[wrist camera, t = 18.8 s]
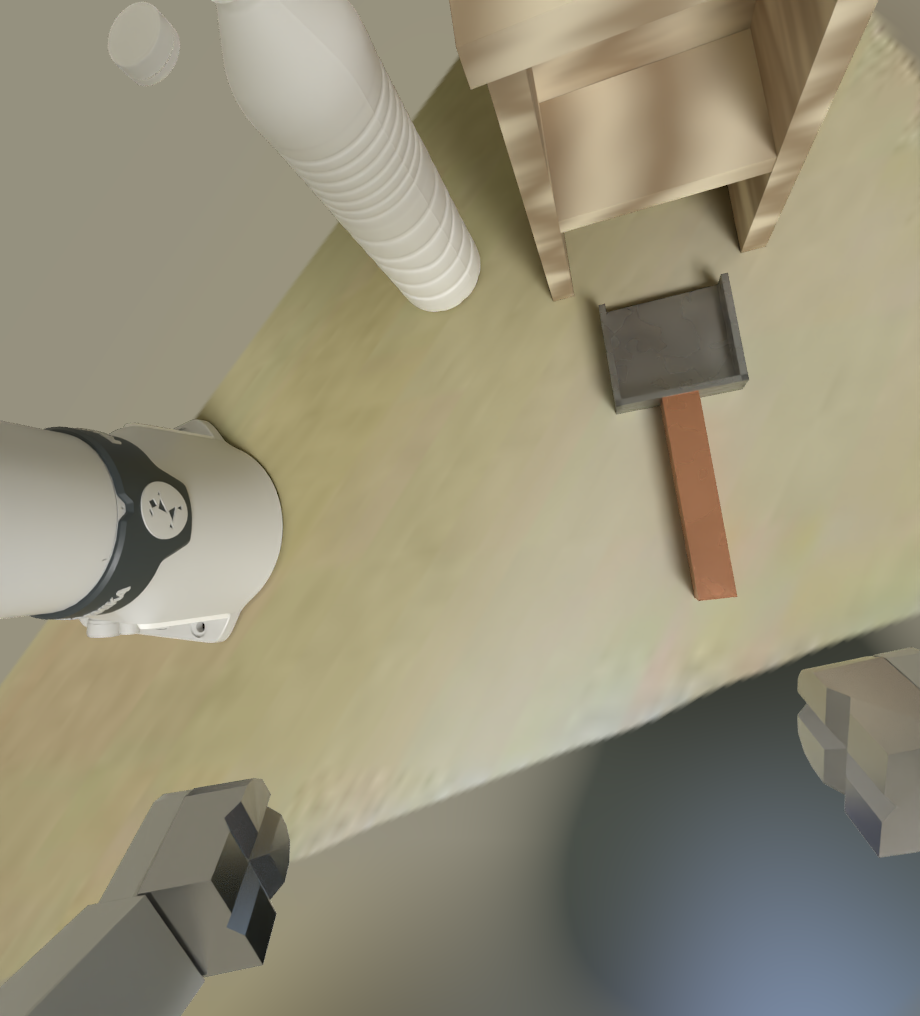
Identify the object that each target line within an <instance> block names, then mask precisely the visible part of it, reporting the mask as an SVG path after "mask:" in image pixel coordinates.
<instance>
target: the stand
mask: <svg viewBox="0 0 920 1016" xmlns="http://www.w3.org/2000/svg"><path fill="white" fill-rule="evenodd" d="M449 2H450V9H451V15H452V22H453V29H454V35H455V43H456V48H457V51H458V54H459V57H460V60H461V63H462V66H463V69H464V72H465V75H466V78H467V80H468V83H469V86H470V89H474V88H477V87H479V86H482V85H485V84H487V85H488V88H489V92H490V95H491V98H492V101H493V105H494V108H495V111H496V115H497V118H498V121H499V124H500V128H501V131H502V134H503V137H504V141H505V144H506V147H507V151H508V154H509V157H510V160H511V164H512V167H513V170H514V174H515V177H516V180H517V183H518V187H519V190H520V193H521V196H522V200H523V203H524V206H525V210H526V213H527V216H528V219H529V223H530V226H531V229H532V233H533V236H534V239H535V242H536V246H537V249H538V252H539V256H540V259H541V262H542V265H543V269H544V272H545V275H546V278H547V282H548V285H549V288H550V292H551V295H552V298H553V301H557V300H561V299H564V298H568V297H572V296H574V291H573V285H572V279H571V273H570V267H569V260H568V254H567V248H566V242H565V236H564V232H566V231H570V230H573V229H576V228H580V227H583V226H587V225H590V224H594V223H597V222H601V221H604V220H607V219H611V218H614V217H618V216H621V215H625V214H628V213H632V212H635V211H638V210H642V209H645V208H649V207H652V206H656V205H659V204H663V203H666V202H669V201H673V200H676V199H680V198H683V197H687V196H690V195H694V194H697V193H700V192H704V191H707V190H711V189H714V188H718V187H721V186H725V185H728V190H729V195H730V200H731V205H732V210H733V215H734V220H735V225H736V230H737V235H738V240H739V245H740V250H741V253H742V252H746V251H750V250H754V249H758V248H762V247H766V245H767V243H768V241H769V238H770V236H771V234H772V232H773V230H774V227H775V225H776V223H777V221H778V219H779V216H780V214H781V212H782V210H783V208H784V206H785V203H786V201H787V199H788V197H789V195H790V192H791V190H792V188H793V186H794V184H795V181H796V179H797V177H798V175H799V173H800V171H801V168H802V166H803V164H804V162H805V160H806V157H807V155H808V153H809V151H810V149H811V146H812V144H813V142H814V140H815V138H816V136H817V133H818V131H819V129H820V127H821V125H822V122H823V120H824V118H825V116H826V114H827V111H828V109H829V107H830V105H831V103H832V100H833V98H834V96H835V94H836V92H837V90H838V87H839V85H840V83H841V81H842V79H843V76H844V74H845V72H846V70H847V68H848V65H849V63H850V61H851V59H852V57H853V55H854V52H855V50H856V48H857V46H858V44H859V41H860V39H861V37H862V35H863V33H864V30H865V28H866V26H867V24H868V22H869V20H870V17H871V15H872V13H873V11H874V9H875V6H876V4H877V2H878V0H449Z"/></svg>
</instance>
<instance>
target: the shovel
mask: <svg viewBox="0 0 920 1016" xmlns="http://www.w3.org/2000/svg"><path fill="white" fill-rule="evenodd" d="M599 312H600V320H601V326H602V332H603V338H604V343H605V349H606V355H607V361H608V367H609V373H610V379H611V385H612V391H613V396H614V402H615V408H616V414H621V413H626V412H631V411H636V410H641V409H646V408H651V407H656V406H661V412H662V418H663V423H664V429H665V434H666V440H667V446H668V451H669V457H670V462H671V468H672V474H673V479H674V485H675V490H676V496H677V501H678V507H679V513H680V518H681V524H682V529H683V535H684V541H685V546H686V552H687V557H688V563H689V569H690V574H691V580H692V585H693V591H694V597H695V598H696V599H697V600H698V601H701V600H711V599H720V598H729V597H737V593H736V587H735V582H734V577H733V571H732V566H731V561H730V555H729V550H728V545H727V539H726V534H725V529H724V523H723V518H722V513H721V507H720V502H719V496H718V491H717V486H716V480H715V475H714V470H713V464H712V459H711V454H710V448H709V443H708V438H707V432H706V427H705V422H704V416H703V411H702V406H701V400H700V398H701V397H706V396H711V395H716V394H721V393H726V392H731V391H736V390H741V389H743V387H744V386H745V384H746V383H747V382H748V380H749V377H748V372H747V367H746V362H745V357H744V352H743V347H742V342H741V337H740V332H739V327H738V322H737V317H736V312H735V306H734V301H733V296H732V291H731V286H730V281H729V276H728V273H725V274H721V276H720V279H719V282H718V285H715V286H711V287H707V288H703V289H699V290H695V291H691V292H687V293H683V294H679V295H675V296H671V297H667V298H663V299H659V300H655V301H651V302H647V303H643V304H638V305H634V306H630V307H626V308H622V309H618V310H614V311H610V312H606V308H605V304H602V305H599Z"/></svg>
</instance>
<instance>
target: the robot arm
mask: <svg viewBox="0 0 920 1016" xmlns="http://www.w3.org/2000/svg"><path fill="white" fill-rule="evenodd" d="M282 530H283V522H282V511H281V506H280V501H279V498H278V495H277V492H276V489H275V487H274V485H273V483H272V481H271V479H270V477H269V476H268V474H267V473H266V471H265V470H264V469H263V468H262V466H261V465H260V464H259V463H258V462H257V461H256V460H254V459H253V458H252V457H251V456H249V455H248V454H246V453H245V452H243V451H241V450H239V449H237V448H235V447H233V446H231V445H230V444H228V443H227V442H225V441H224V439H223V438H222V436H221V435H220V434H219V432H218V431H217V430H216V429H215V427H214V426H213V425H212V424H211V423H209V422H208V421H205V420H199V419H193V420H190V421H188V422H186V423H184V424H182V425H180V426H178V427H176V428H174V429H168V428H163V427H157V426H151V425H145V424H139V423H127V424H125V425H124V427H123V428H120V429H117V430H115V431H113V432H111V433H110V434H106V433H102V432H99V431H94V430H89V429H83V428H68V427H51V428H46V429H40V428H34V427H30V426H25V425H20V424H15V423H10V422H5V421H0V619H6V618H13V617H21V616H31V617H35V618H39V619H56V620H72V619H79V620H80V622H81V623H82V624H83V625H84V626H85V627H87V635H88V637H92V638H103V637H113V636H118V635H120V634H123V635H129V634H143V635H151V636H159V637H167V638H175V639H183V640H191V641H199V642H207V643H216V642H222V641H224V640H226V639H227V638H228V637H229V635H230V634H231V632H232V630H233V628H234V626H235V624H236V621H237V619H238V616H239V614H240V612H241V610H242V609H243V607H244V606H245V605H246V604H247V603H248V602H249V601H250V600H251V599H252V598H253V597H254V596H255V595H256V594H257V593H258V592H259V591H260V590H261V588H262V587H263V586H264V584H265V583H266V581H267V580H268V578H269V576H270V575H271V573H272V571H273V569H274V566H275V564H276V561H277V558H278V555H279V551H280V547H281V541H282ZM203 623H204V625H205V629H203ZM798 693H799V694H800V695H801V696H802V698H804V700H805V701H806V702H807V704H806V705H805V706H804V708H803V709H802V710H801V711H800V713H799V714H798V734H799V737H800V740H801V743H802V747H803V750H804V753H805V755H806V756H807V758H808V760H809V762H810V764H811V766H812V768H813V769H814V770H815V771H816V773H817V775H818V776H819V777H820V779H821V780H822V781H823V783H824V784H826V785H828V786H830V787H832V788H833V789H835V790H837V791H839V792H841V793H843V794H845V813H846V814H847V815H848V817H849V818H850V819H851V821H852V822H853V823H854V825H855V826H856V828H857V829H858V830H859V832H860V833H861V834H862V835H863V837H864V838H865V840H866V841H867V842H868V843H869V845H870V846H871V847H872V849H873V850H874V851H875V853H876V854H877V856H878V857H879V858H880V857H886V856H894V855H901V854H907V853H914V852H920V650H918V649H915V648H912V647H910V648H905V649H901V650H896V651H891V652H886V653H881V654H876V655H874V656H867V657H862V658H858V659H853V660H848V661H844V662H838V663H833V664H828V665H824V666H819V667H814V668H809V669H804V670H802V671H801V673H800V675H799V677H798ZM270 795H271V794H270V792H269V790H268V788H267V787H266V785H265V783H264V781H263V780H262V779H256V778H252V779H247V780H241V781H235V782H229V783H223V784H217V785H211V786H205V787H199V788H194V789H192V790H186V791H180V792H174V793H168V794H163V795H162V796H161V797H160V798H158V799H157V800H156V801H155V802H154V803H153V804H152V806H151V808H150V810H149V812H148V813H147V815H146V817H145V819H144V821H143V823H142V824H141V826H140V828H139V830H138V832H137V833H136V835H135V837H134V839H133V841H132V843H131V844H130V846H129V848H128V850H127V852H126V854H125V855H124V857H123V859H122V861H121V863H120V864H119V866H118V868H117V870H116V872H115V874H114V875H113V877H112V879H111V881H110V883H109V885H108V886H107V888H106V890H105V892H104V894H103V895H102V897H101V899H100V901H99V903H97V904H92V905H88V906H87V907H86V908H84V909H83V910H82V911H81V912H80V913H79V914H78V915H77V916H76V917H75V918H74V919H73V920H72V921H71V922H69V923H68V924H67V925H66V926H65V927H64V928H63V929H62V930H61V931H60V932H59V933H58V934H57V935H56V936H54V937H53V938H52V939H51V940H50V941H49V942H48V943H47V944H46V945H45V946H44V947H43V948H42V949H40V950H39V951H38V952H37V953H36V954H35V955H34V956H33V957H32V958H31V959H30V960H29V961H28V962H27V963H25V964H24V965H23V966H22V967H21V968H20V969H19V970H18V971H17V972H16V973H15V974H14V975H13V976H12V977H10V978H9V979H8V980H7V981H6V982H5V983H4V984H3V985H2V986H1V987H0V1016H181V1015H182V1013H183V1012H184V1010H185V1009H186V1007H187V1006H188V1005H189V1003H190V1002H191V1000H192V999H193V997H194V996H195V995H196V993H197V992H198V990H199V989H200V987H201V986H202V984H203V983H204V981H205V980H204V978H203V977H208V976H213V975H217V974H222V973H227V972H232V971H236V970H241V969H246V968H251V967H255V966H261V965H263V963H264V959H265V955H266V951H267V948H268V944H269V940H270V936H271V932H272V929H273V925H274V921H275V917H276V912H275V909H274V907H273V905H272V903H271V898H272V897H273V895H274V894H275V893H276V892H277V891H278V889H279V888H280V887H281V886H282V885H283V883H284V882H285V878H286V874H287V869H288V866H289V854H290V839H289V835H288V830H287V826H286V824H285V822H284V820H283V817H282V815H281V814H279V813H278V812H276V811H274V810H273V809H271V808H269V807H267V804H268V801H269V798H270Z"/></svg>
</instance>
